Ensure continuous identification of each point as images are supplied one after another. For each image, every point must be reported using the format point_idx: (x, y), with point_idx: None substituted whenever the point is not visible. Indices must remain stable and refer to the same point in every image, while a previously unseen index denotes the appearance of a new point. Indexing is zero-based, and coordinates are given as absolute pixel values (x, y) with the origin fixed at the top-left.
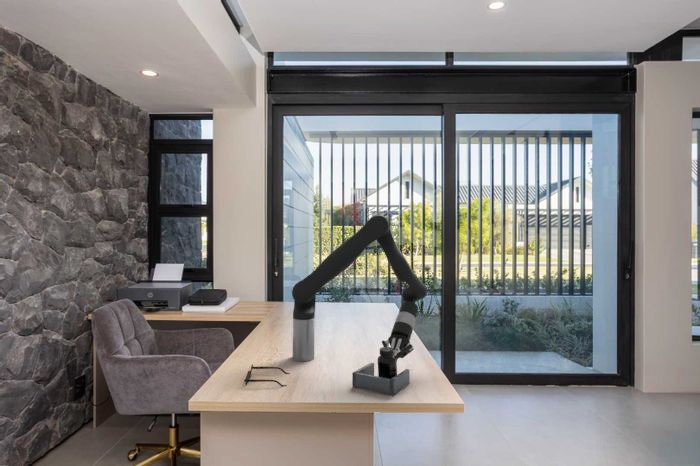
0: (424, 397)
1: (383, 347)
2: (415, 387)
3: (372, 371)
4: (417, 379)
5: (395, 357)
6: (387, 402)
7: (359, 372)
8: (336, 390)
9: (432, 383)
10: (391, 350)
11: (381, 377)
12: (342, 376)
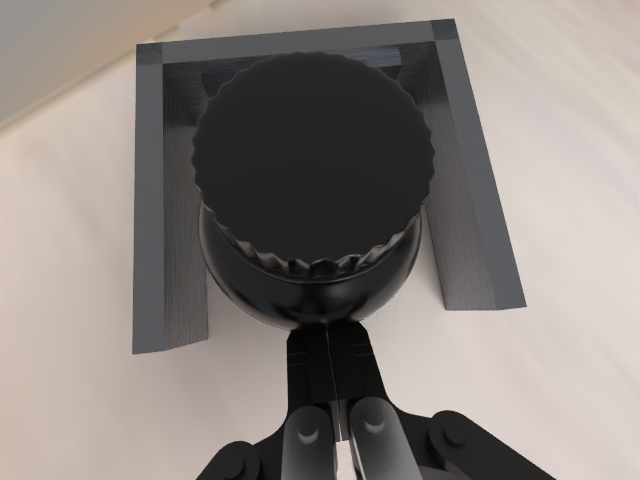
0: (21, 194)
1: (406, 183)
2: (123, 302)
3: (458, 282)
4: (171, 461)
5: (208, 256)
6: (166, 38)
7: (437, 77)
8: (448, 16)
9: (45, 454)
10: (198, 139)
11: (235, 53)
12: (585, 184)
